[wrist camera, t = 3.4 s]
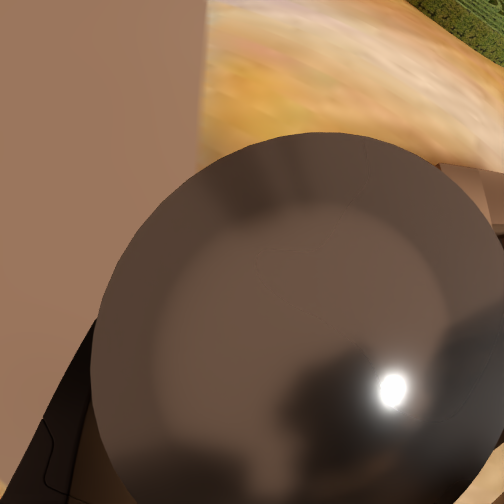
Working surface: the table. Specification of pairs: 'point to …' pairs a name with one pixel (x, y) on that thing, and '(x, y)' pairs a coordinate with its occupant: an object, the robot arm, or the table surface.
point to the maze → (470, 23)
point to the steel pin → (304, 333)
